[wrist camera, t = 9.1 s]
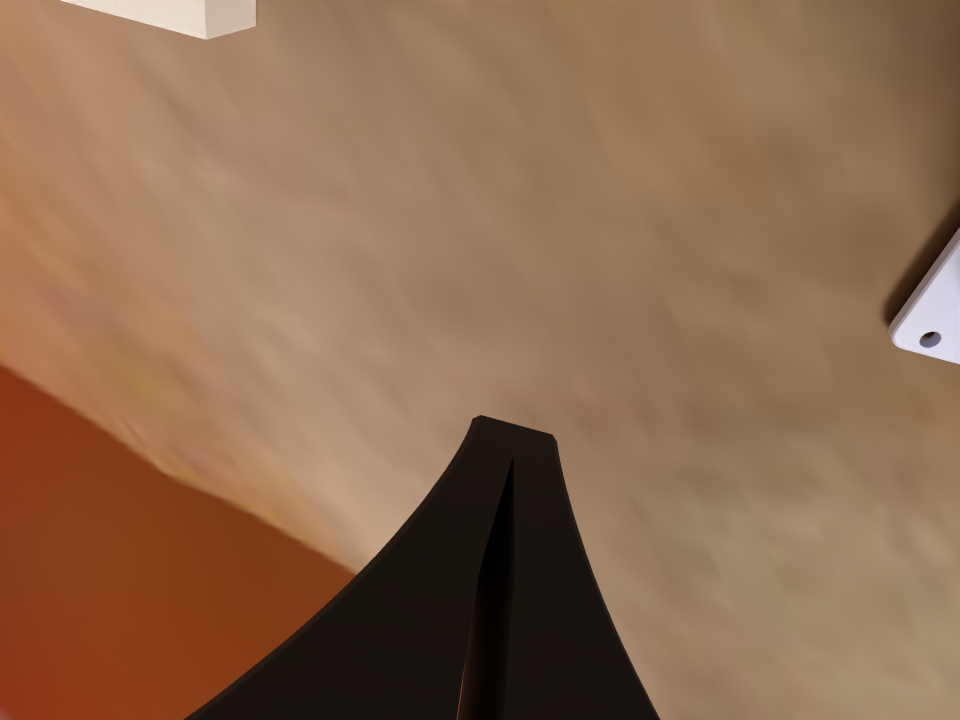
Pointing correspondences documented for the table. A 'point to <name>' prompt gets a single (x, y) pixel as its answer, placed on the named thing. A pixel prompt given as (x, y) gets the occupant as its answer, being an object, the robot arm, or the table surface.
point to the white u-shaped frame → (183, 14)
